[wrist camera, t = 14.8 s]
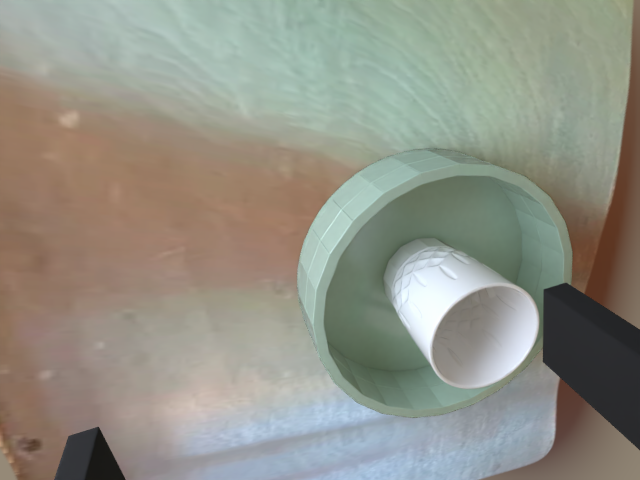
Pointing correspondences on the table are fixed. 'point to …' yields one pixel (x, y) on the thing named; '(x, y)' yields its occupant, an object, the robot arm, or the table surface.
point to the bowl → (399, 229)
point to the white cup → (461, 313)
